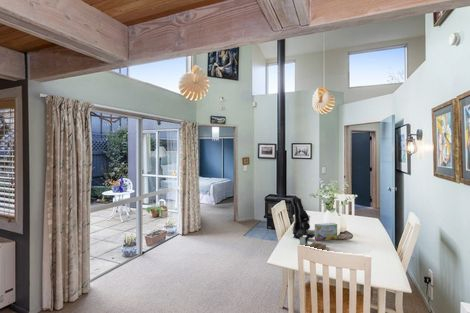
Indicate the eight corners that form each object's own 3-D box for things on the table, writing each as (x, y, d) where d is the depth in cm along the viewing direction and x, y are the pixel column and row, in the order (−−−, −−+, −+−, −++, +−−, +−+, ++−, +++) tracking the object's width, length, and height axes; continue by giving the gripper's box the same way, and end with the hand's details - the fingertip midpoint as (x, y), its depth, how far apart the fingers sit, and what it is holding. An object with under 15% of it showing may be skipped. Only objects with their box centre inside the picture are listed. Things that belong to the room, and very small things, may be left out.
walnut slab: (309, 248, 223) (309, 245, 223) (314, 244, 232) (314, 241, 232) (321, 251, 216) (321, 248, 216) (326, 247, 225) (326, 244, 225)
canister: (307, 235, 257) (307, 214, 256) (290, 232, 267) (290, 212, 266) (312, 230, 272) (312, 210, 271) (296, 227, 282) (296, 208, 281)
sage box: (299, 244, 231) (299, 237, 231) (302, 243, 235) (302, 236, 235) (304, 245, 228) (304, 238, 228) (307, 244, 232) (307, 237, 232)
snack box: (317, 241, 240) (317, 225, 239) (314, 239, 245) (314, 223, 245) (337, 239, 244) (337, 223, 243) (334, 237, 249) (334, 222, 249)
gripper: (289, 226, 231) (290, 243, 232) (309, 230, 219) (309, 248, 219) (295, 223, 240) (295, 239, 240) (314, 227, 228) (314, 244, 228)
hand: (303, 243), depth 232 cm, fingers closed on sage box, 5 cm apart
